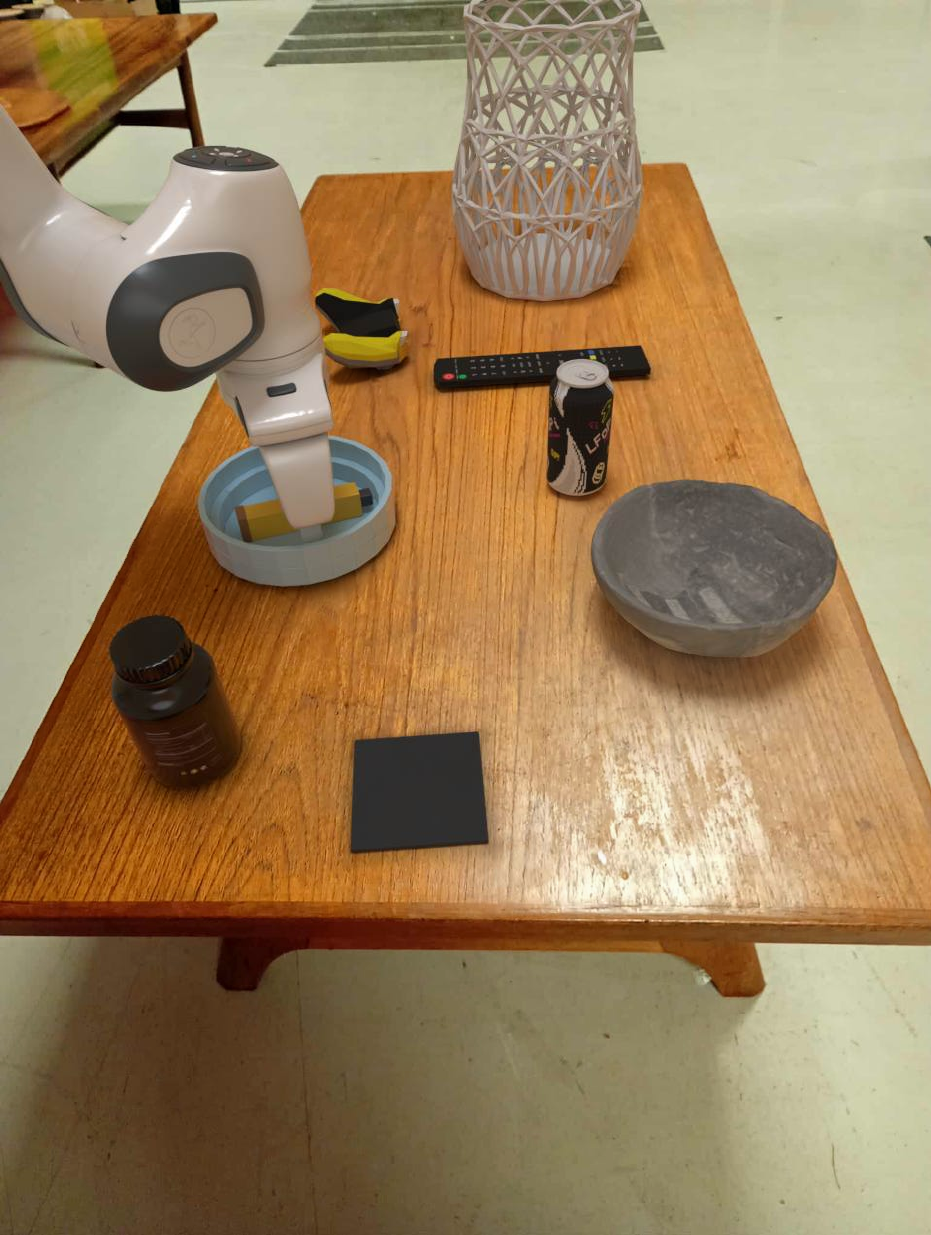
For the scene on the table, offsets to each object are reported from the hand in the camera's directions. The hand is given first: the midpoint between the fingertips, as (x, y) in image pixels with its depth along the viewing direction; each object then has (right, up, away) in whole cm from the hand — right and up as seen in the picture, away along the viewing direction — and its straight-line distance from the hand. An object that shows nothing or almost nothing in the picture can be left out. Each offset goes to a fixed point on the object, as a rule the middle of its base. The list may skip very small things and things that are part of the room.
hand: (301, 505), depth 81 cm
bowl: (+34, -10, -8) cm, 36 cm away
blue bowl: (0, -2, +2) cm, 3 cm away
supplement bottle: (-5, -20, -16) cm, 26 cm away
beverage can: (+26, +3, +5) cm, 26 cm away
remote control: (+23, +17, +20) cm, 35 cm away
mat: (+12, -22, -19) cm, 32 cm away
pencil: (0, -1, +2) cm, 2 cm away
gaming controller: (+3, +22, +26) cm, 33 cm away
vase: (+26, +37, +40) cm, 60 cm away
